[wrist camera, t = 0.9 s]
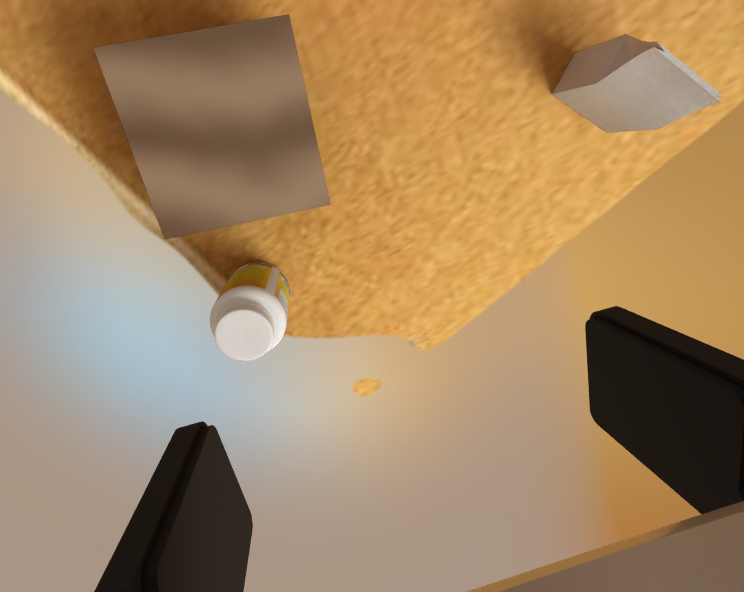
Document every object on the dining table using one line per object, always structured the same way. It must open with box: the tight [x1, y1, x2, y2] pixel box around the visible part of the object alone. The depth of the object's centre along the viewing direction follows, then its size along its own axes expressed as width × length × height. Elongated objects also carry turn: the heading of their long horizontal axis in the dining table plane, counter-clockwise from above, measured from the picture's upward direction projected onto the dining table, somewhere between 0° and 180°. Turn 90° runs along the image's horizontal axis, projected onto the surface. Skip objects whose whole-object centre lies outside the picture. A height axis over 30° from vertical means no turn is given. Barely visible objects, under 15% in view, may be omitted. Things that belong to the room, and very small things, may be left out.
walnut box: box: [94, 14, 331, 239], centre depth 30 cm, size 12×12×7 cm
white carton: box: [552, 34, 724, 133], centre depth 32 cm, size 4×7×10 cm, turn 63°
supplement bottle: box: [210, 262, 290, 361], centre depth 33 cm, size 6×6×10 cm
